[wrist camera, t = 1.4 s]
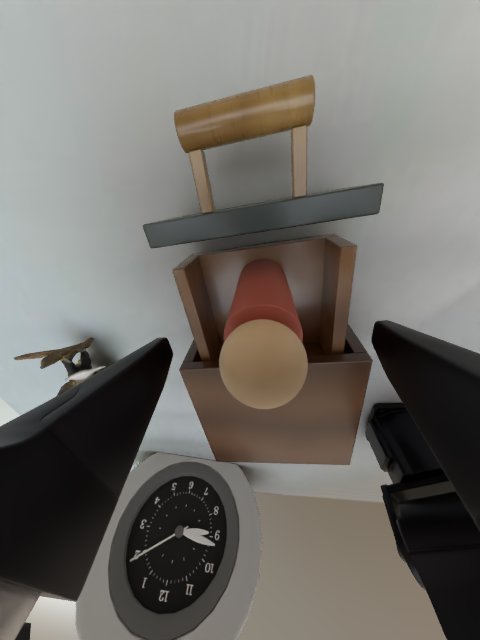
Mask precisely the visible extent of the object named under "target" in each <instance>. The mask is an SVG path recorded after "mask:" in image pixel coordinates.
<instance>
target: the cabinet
mask: <svg viewBox="0 0 480 640" xmlns="http://www.w3.org/2000/svg"><path fill="white" fill-rule="evenodd" d="M307 360H308V370H307V376H306V379H305V382H304V384H303V386H302V388H301V390H300V391H299V392H298V394H297V395H296V396H295V397H294V398H293V399H292V400H290V401H289V402H288V403H286V404H284V405H282V406H280V407H277V408H273V409H257V408H252V407H249V406H247V405H245V404H243V403H241V402H240V401H238V400H237V399H236V398H235V397H233V396H232V395H231V393H230V392H229V391H228V389H227V388H226V386H225V385H224V382H223V380H222V377H221V374H220V368H219V361H204V362H202V361H201V358H200V355H199V351H198V348H197V345H196V342H195V339H194V340H193V342H192V344H191V347H190V349H189V351H188V353H187V355H186V357H185V359H184V361H183V363H182V365H181V367H180V369H179V371H180V373H181V376H182V378H183V381H184V383H185V386H186V388H187V390H188V393H189V395H190V398H191V400H192V403H193V405H194V408H195V410H196V412H197V415H198V417H199V420H200V422H201V425H202V427H203V430H204V432H205V435H206V437H207V439H208V442H209V444H210V447H211V449H212V452H213V454H214V457H215V459H216V461H217V462H254V463H293V464H331V465H350V461H351V456H352V452H353V447H354V443H355V438H356V434H357V429H358V425H359V420H360V416H361V411H362V407H363V402H364V398H365V393H366V389H367V384H368V380H369V375H370V371H371V366H372V361H373V360H372V359H371V357H370V356H369V354H368V353H367V351H366V349H365V348H364V347H363V345H362V344H361V342H360V341H359V339H358V338H357V336H356V335H355V333H354V332H353V330H352V329H351V328H350V326H349V325H348V323H347V329H346V337H345V345H344V353H343V354H331V355H313V356H307Z"/></svg>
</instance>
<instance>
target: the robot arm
mask: <svg viewBox="0 0 480 640" xmlns="http://www.w3.org/2000/svg"><path fill="white" fill-rule="evenodd" d="M372 344H373V347H374V349H375V351H376V353H377V355H378V358H379V360H380V362H381V364H382V367H383V369H384V371H385V373H386V375H387V377H388V379H389V381H390V382H391V384H392V386H393V387H394V389H395V391H396V392H397V394H398V396H399V397H400V399H401V401H402V402H403V404H378V405H375V406H374V407H373V409H372V413H371V417H370V420H369V421H368V425H367V429H366V438H367V440H368V441H369V442H370V445H371V447H372V449H373V451H374V454H375V456H376V458H377V461H378V463H379V465H380V467H381V469H382V470H383V471H384V472H388V473H389V476H390V478H391V480H392V482H393V484H391V485H381V489H382V493H383V500H384V503H385V506H386V510H387V513H388V516H389V520H390V523H391V526H392V530H393V533H394V536H395V540H396V545H397V550H398V553H399V555H400V557H401V558H402V559H403V561H405V562H406V563H407V565H408V567H409V568H410V570H411V572H412V574H413V575H414V577H415V579H416V580H417V582H418V583H419V584H420V586H421V587H422V588H424V589H425V590H426V591H427V593H428V595H429V598H430V600H431V603H432V605H433V607H434V609H435V612H436V615H437V617H438V620H439V622H440V624H441V627H442V629H443V632H444V634H445V636H446V638H447V640H480V354H479V353H476V352H473V351H470V350H468V349H465V348H462V347H459V346H457V345H454V344H451V343H449V342H446V341H443V340H440V339H438V338H435V337H432V336H429V335H427V334H424V333H421V332H418V331H416V330H413V329H410V328H407V327H405V326H402V325H399V324H396V323H394V322H391V321H388V320H385V321H377V322H375V324H374V329H373V334H372ZM172 357H173V351H172V349H171V346H170V344H169V341H168V339H167V338H157V339H155V340H153V341H152V342H150V343H148V344H146V345H145V346H143V347H141V348H140V349H138V350H136V351H134V352H133V353H131V354H129V355H128V356H126V357H124V358H122V359H121V360H119V361H117V362H116V363H114V364H112V365H110V366H109V367H107V368H105V369H103V370H102V371H100V372H98V373H97V374H95V375H93V376H91V377H90V378H88V379H86V380H85V381H83V382H82V383H79V384H78V385H76V386H74V387H72V388H71V389H69V390H67V391H65V392H64V393H62V394H60V395H58V396H57V397H55V398H53V399H51V400H49V401H47V402H46V403H44V404H42V405H40V406H38V407H36V408H34V409H33V410H31V411H29V412H27V413H25V414H23V415H21V416H19V417H17V418H16V419H14V420H12V421H10V422H8V423H6V424H4V425H2V426H1V427H0V640H30V628H31V623H25V621H26V619H27V617H28V616H29V613H30V612H31V610H32V608H33V607H34V605H35V603H36V601H37V600H38V598H39V596H43V597H50V598H56V599H62V600H69V601H75V602H76V601H77V600H78V598H79V596H80V594H81V592H82V590H83V587H84V585H85V582H86V580H87V577H88V575H89V572H90V570H91V567H92V565H93V562H94V560H95V557H96V555H97V552H98V550H99V547H100V545H101V542H102V540H103V537H104V535H105V532H106V530H107V527H108V525H109V522H110V520H111V517H112V515H113V512H114V510H115V507H116V505H117V503H118V500H119V497H120V495H121V492H122V490H123V487H124V485H125V482H126V480H127V477H128V475H129V472H130V470H131V467H132V465H133V462H134V460H135V457H136V455H137V452H138V450H139V447H140V445H141V442H142V440H143V437H144V435H145V432H146V430H147V427H148V425H149V422H150V420H151V417H152V415H153V412H154V410H155V407H156V405H157V402H158V400H159V398H160V395H161V393H162V390H163V387H164V385H165V382H166V378H167V375H168V371H169V368H170V364H171V361H172Z"/></svg>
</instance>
